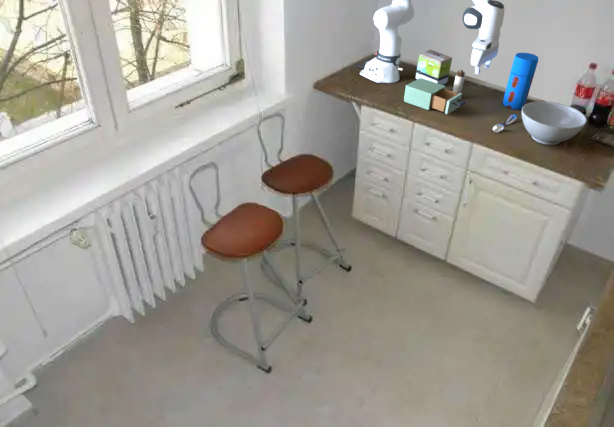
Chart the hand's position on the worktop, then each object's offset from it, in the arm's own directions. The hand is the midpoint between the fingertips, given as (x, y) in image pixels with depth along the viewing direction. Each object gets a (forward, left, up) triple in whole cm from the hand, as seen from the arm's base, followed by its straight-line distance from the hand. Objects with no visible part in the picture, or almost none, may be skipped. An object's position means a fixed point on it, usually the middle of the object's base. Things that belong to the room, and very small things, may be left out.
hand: (481, 70), depth 238 cm
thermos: (+9, +28, -23) cm, 37 cm away
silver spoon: (+16, +3, -23) cm, 28 cm away
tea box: (-37, +25, -23) cm, 50 cm away
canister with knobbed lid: (-17, +16, -23) cm, 32 cm away
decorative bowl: (+35, +4, -23) cm, 42 cm away
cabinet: (-26, -2, -23) cm, 34 cm away
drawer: (-13, -2, -22) cm, 26 cm away
